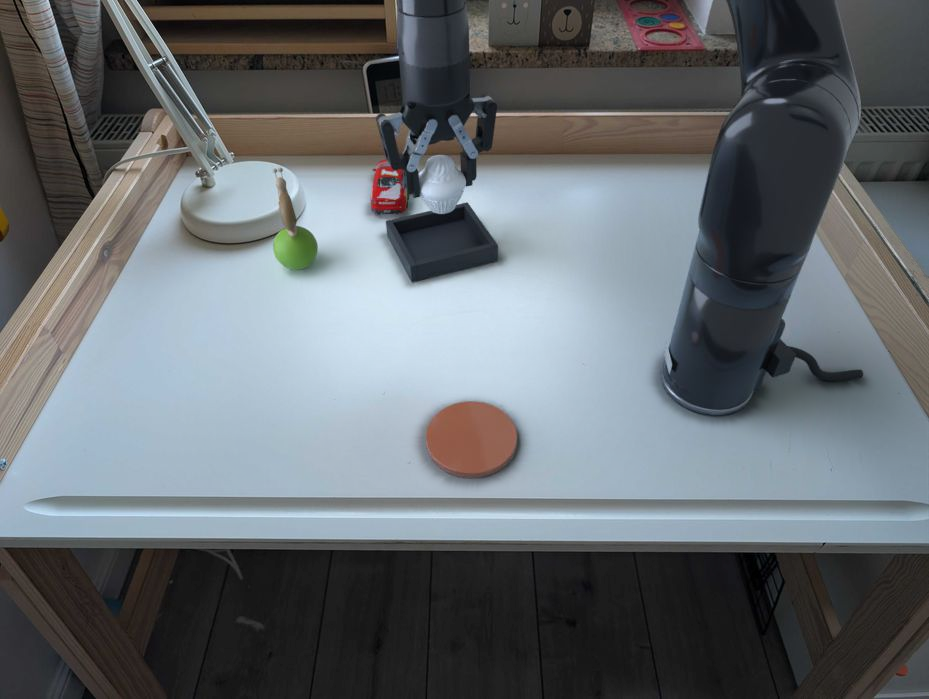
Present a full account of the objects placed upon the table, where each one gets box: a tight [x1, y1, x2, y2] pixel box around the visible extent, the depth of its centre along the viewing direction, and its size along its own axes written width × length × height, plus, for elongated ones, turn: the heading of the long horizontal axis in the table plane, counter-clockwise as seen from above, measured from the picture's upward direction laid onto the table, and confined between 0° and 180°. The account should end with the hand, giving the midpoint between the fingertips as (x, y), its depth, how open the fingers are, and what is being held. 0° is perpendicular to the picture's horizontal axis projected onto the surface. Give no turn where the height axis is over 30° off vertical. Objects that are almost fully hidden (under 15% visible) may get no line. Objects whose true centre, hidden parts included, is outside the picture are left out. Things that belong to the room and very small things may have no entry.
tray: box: [385, 202, 499, 283], centre depth 93 cm, size 12×11×2 cm
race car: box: [370, 158, 410, 216], centre depth 102 cm, size 13×5×4 cm, turn 178°
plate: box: [425, 400, 518, 479], centre depth 71 cm, size 9×9×1 cm
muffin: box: [418, 154, 466, 214], centre depth 87 cm, size 6×6×7 cm
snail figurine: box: [272, 167, 319, 271], centre depth 88 cm, size 5×6×12 cm
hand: (441, 188), depth 87 cm, fingers closed on muffin, 6 cm apart
